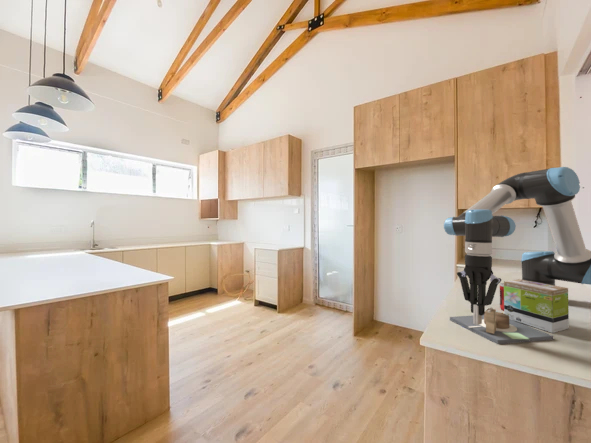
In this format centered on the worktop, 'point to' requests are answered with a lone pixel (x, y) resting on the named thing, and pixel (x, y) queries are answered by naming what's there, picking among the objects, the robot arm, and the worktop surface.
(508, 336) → the tuner board
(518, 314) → the tea box
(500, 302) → the canned food
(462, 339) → the worktop surface
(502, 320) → the dial
